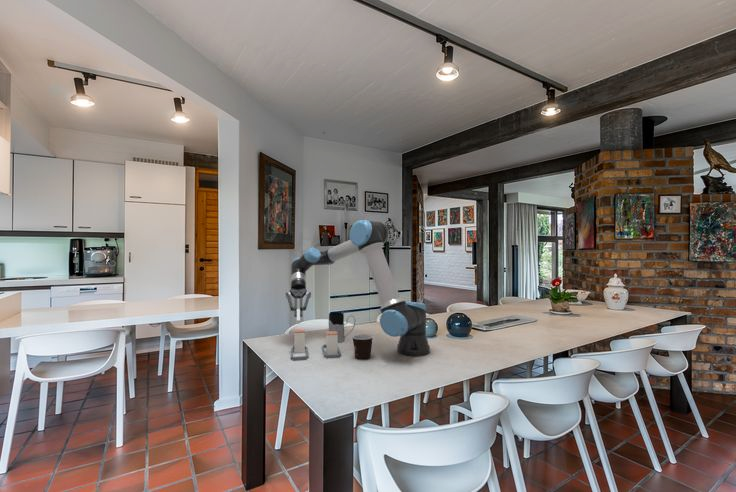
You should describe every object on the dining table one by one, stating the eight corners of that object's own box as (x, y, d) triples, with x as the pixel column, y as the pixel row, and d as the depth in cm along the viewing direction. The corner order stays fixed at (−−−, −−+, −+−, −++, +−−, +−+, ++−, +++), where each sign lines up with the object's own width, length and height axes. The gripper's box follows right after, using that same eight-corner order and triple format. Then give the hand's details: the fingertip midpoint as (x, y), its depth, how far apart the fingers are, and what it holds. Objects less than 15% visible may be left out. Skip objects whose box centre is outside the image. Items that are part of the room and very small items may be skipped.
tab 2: (326, 353, 156) (326, 331, 156) (336, 352, 157) (336, 331, 157) (326, 355, 152) (326, 333, 152) (337, 355, 152) (337, 333, 153)
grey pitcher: (326, 341, 179) (326, 312, 179) (353, 340, 182) (353, 311, 182) (328, 346, 170) (328, 315, 171) (357, 344, 174) (357, 314, 174)
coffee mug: (370, 364, 144) (370, 340, 144) (350, 362, 146) (350, 338, 146) (375, 355, 156) (375, 333, 156) (356, 354, 158) (356, 332, 158)
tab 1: (294, 350, 160) (294, 329, 160) (304, 349, 160) (304, 329, 161) (294, 353, 156) (294, 331, 156) (305, 352, 156) (305, 331, 157)
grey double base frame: (290, 351, 162) (290, 346, 162) (337, 348, 167) (337, 343, 167) (290, 364, 144) (290, 358, 144) (342, 360, 149) (342, 354, 149)
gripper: (310, 287, 184) (311, 325, 168) (285, 287, 182) (284, 326, 165) (311, 278, 179) (312, 317, 163) (285, 278, 177) (284, 318, 160)
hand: (298, 321), depth 164 cm, fingers closed
